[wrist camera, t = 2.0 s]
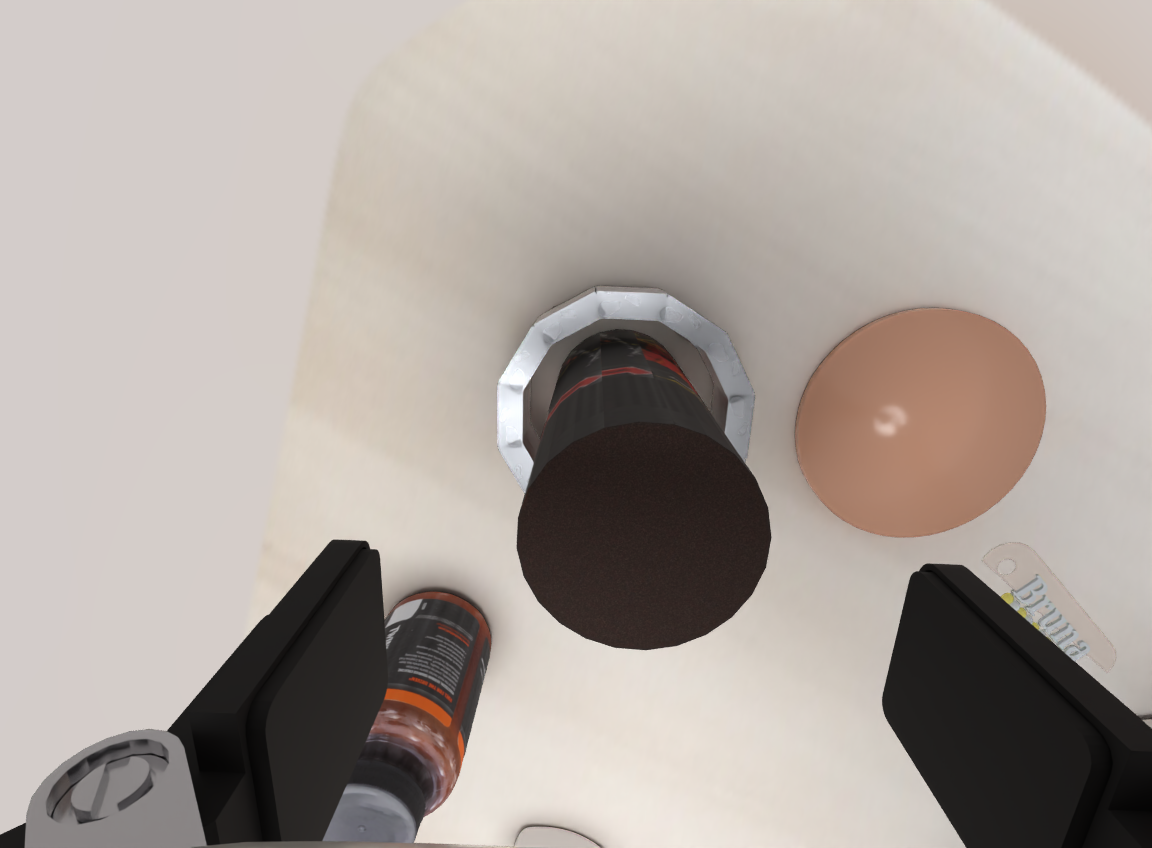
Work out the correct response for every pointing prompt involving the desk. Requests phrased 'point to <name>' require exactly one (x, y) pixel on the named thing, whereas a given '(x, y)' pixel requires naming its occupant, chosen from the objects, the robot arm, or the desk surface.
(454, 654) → the supplement bottle
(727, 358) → the ring stand
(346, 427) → the desk surface
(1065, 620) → the keychain
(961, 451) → the coaster
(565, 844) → the eye dropper bottle
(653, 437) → the deodorant
